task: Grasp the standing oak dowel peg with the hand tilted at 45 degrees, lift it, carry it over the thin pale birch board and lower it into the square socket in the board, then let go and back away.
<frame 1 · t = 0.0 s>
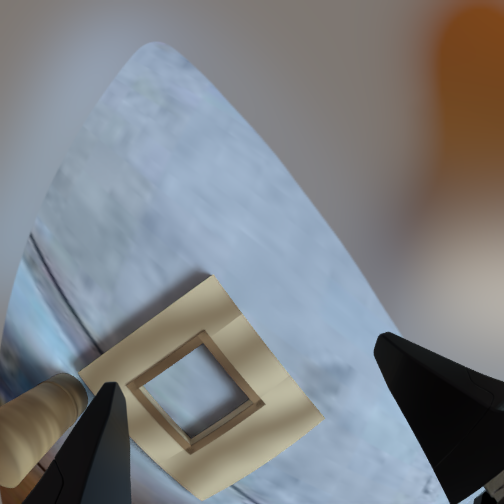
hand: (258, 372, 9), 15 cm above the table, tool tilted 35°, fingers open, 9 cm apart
socket board: (203, 401, 22), on the table
peg: (67, 394, 20), on the table
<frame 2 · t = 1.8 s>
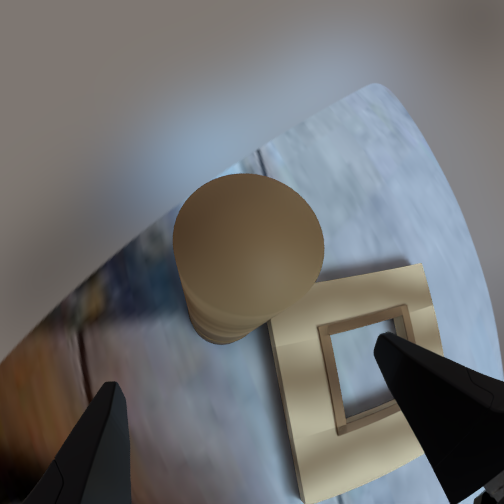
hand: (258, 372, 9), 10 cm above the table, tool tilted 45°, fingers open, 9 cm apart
socket board: (371, 380, 19), on the table
peg: (220, 315, 20), on the table
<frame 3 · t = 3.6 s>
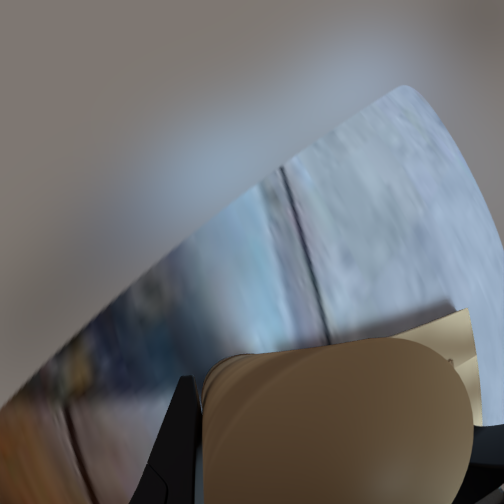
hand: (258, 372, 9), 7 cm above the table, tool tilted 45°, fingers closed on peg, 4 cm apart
socket board: (408, 444, 14), on the table
peg: (240, 391, 15), on the table, touching gripper
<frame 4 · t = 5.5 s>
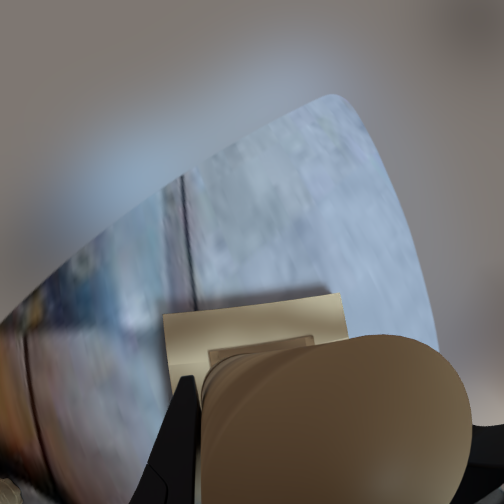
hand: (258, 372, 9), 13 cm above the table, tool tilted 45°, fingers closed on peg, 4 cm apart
socket board: (269, 405, 21), on the table
handle: (12, 489, 13), on the table
peg: (239, 391, 15), point 7 cm above the table, touching gripper
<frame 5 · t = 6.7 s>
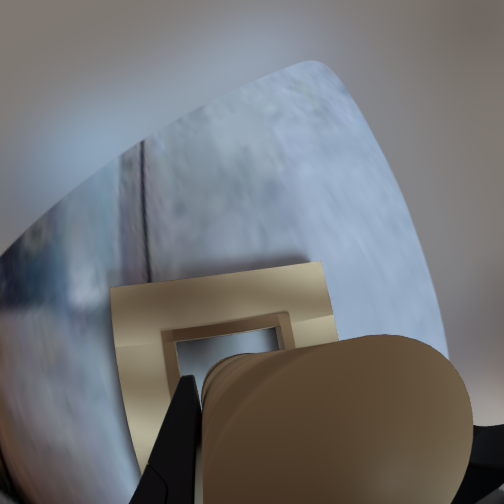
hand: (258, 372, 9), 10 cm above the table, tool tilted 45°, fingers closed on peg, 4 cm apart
socket board: (237, 399, 17), on the table
peg: (240, 391, 15), point 3 cm above the table, touching gripper
when the fingers open (8 cm above the table, at t = 7.5 s): peg drops 1 cm, resting in socket board.
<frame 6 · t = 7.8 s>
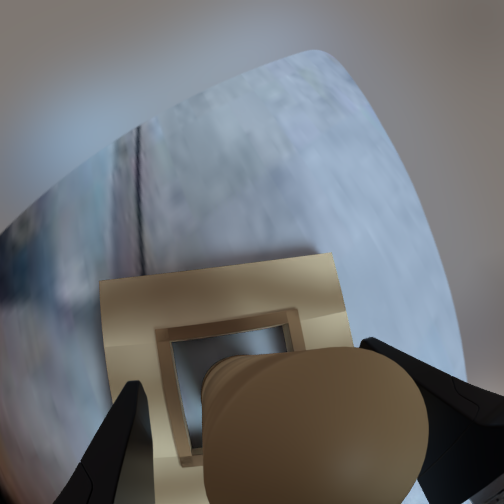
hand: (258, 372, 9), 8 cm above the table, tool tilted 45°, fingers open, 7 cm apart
socket board: (241, 405, 15), on the table
peg: (237, 389, 16), resting in socket board
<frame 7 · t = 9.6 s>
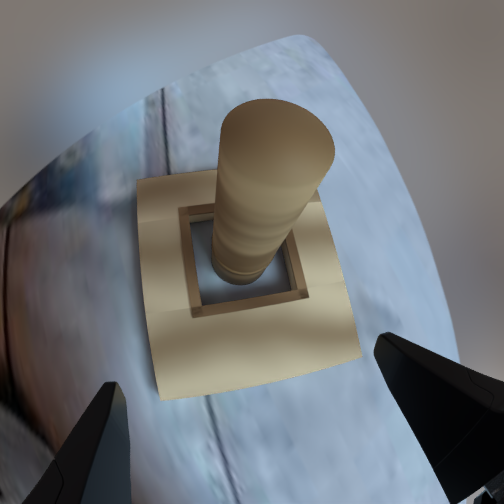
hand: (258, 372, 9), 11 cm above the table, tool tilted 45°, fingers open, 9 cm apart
socket board: (242, 270, 21), on the table
peg: (239, 258, 22), resting in socket board
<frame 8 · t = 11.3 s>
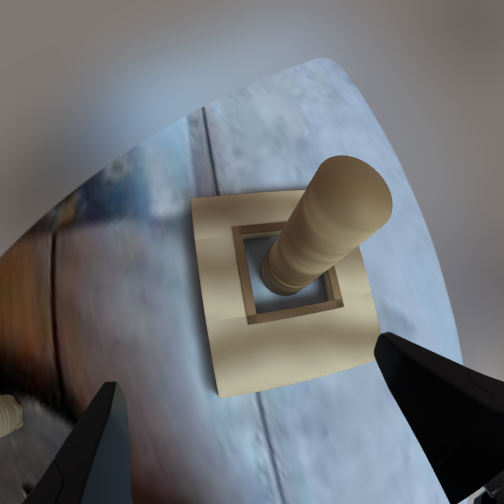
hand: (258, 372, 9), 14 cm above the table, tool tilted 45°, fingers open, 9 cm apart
socket board: (287, 283, 24), on the table
handle: (14, 411, 16), on the table
peg: (284, 272, 25), resting in socket board
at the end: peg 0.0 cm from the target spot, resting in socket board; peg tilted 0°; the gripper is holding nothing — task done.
